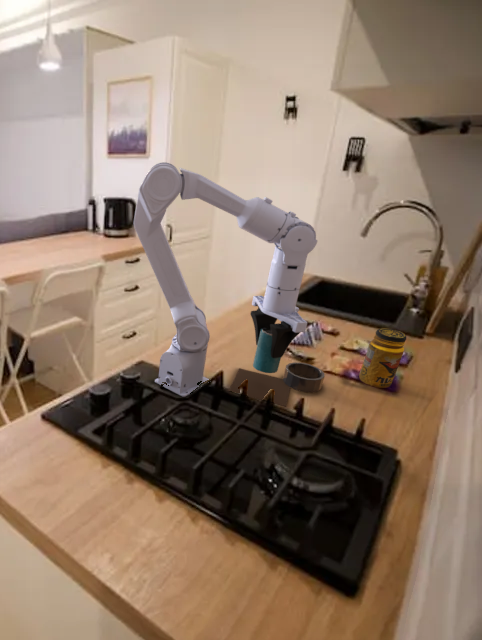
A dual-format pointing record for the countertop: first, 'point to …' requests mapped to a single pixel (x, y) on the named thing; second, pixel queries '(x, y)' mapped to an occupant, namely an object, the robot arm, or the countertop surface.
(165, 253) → the robot arm
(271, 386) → the coaster
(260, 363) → the can
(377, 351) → the condiment
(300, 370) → the ring
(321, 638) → the countertop surface
